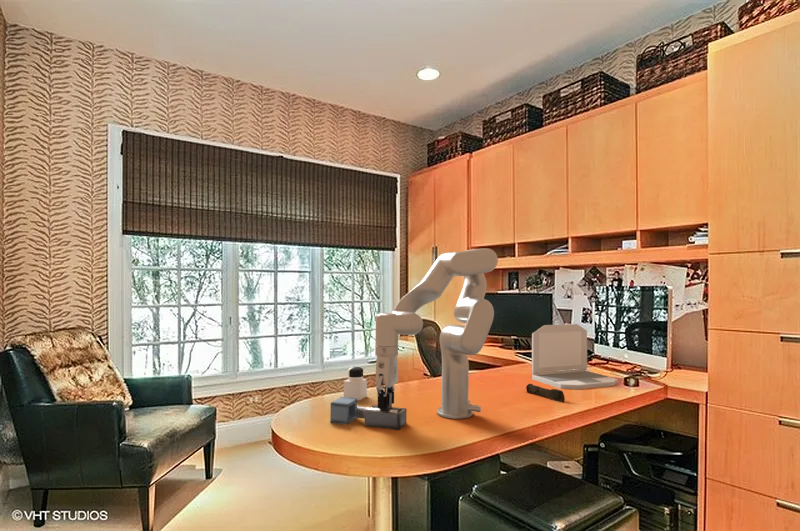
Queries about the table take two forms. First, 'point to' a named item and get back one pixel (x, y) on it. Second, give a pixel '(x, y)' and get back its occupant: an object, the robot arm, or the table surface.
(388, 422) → the sleeve
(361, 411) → the sliding bolt
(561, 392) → the hand tool
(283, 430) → the table surface
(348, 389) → the medicine bottle
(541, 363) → the laptop
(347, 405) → the socket block
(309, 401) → the table surface
